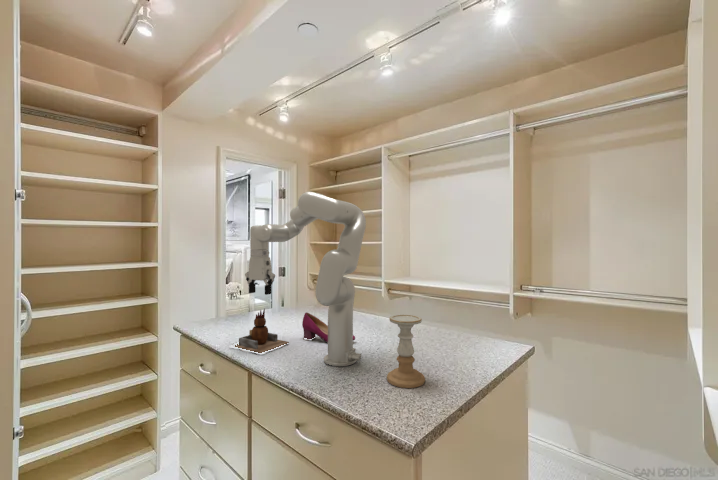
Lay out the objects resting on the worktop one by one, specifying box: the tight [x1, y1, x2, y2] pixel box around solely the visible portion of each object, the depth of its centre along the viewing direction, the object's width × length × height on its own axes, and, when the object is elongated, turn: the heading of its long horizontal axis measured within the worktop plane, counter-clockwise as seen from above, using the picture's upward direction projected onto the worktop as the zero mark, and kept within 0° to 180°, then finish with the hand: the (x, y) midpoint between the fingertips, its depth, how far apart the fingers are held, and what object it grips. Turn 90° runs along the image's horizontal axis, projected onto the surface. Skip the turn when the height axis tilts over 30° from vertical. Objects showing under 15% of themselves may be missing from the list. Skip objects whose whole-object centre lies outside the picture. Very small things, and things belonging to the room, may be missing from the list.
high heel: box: [301, 312, 356, 343], centre depth 147 cm, size 9×26×12 cm, turn 77°
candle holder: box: [386, 314, 426, 389], centre depth 105 cm, size 12×12×20 cm
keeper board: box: [235, 329, 290, 353], centre depth 140 cm, size 19×16×6 cm
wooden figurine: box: [251, 308, 269, 345], centre depth 140 cm, size 7×6×15 cm
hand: (259, 293), depth 140 cm, fingers open, 9 cm apart
